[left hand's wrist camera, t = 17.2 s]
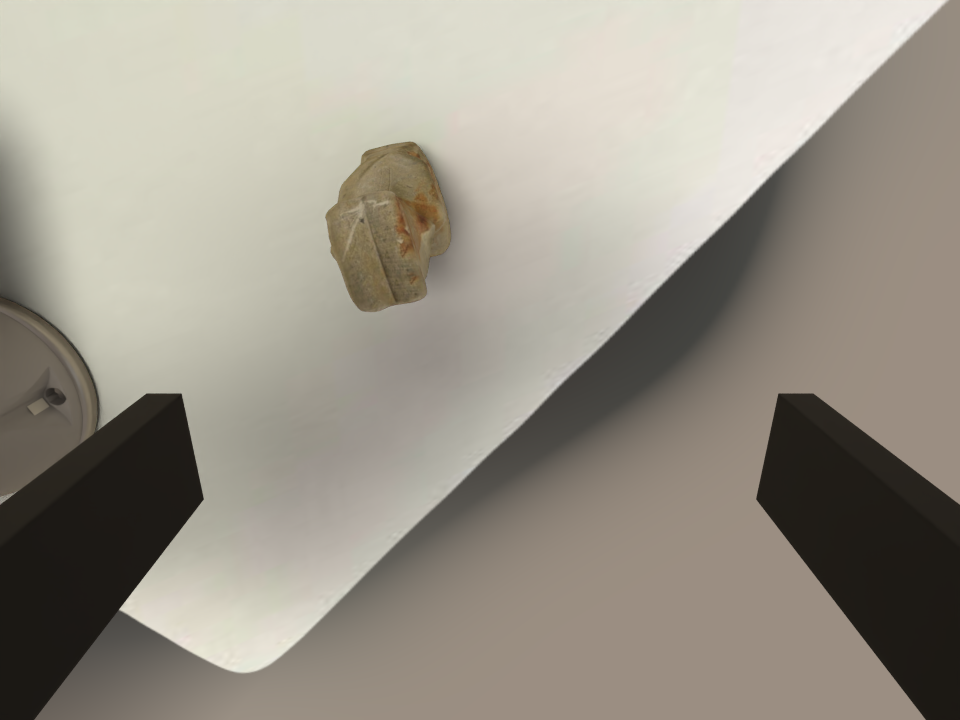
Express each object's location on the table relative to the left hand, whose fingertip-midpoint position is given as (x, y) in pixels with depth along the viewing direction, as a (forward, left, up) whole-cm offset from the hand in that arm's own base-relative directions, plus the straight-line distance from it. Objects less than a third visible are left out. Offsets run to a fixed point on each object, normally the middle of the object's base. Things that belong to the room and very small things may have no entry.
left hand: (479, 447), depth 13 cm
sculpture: (-1, +5, -28) cm, 28 cm away
